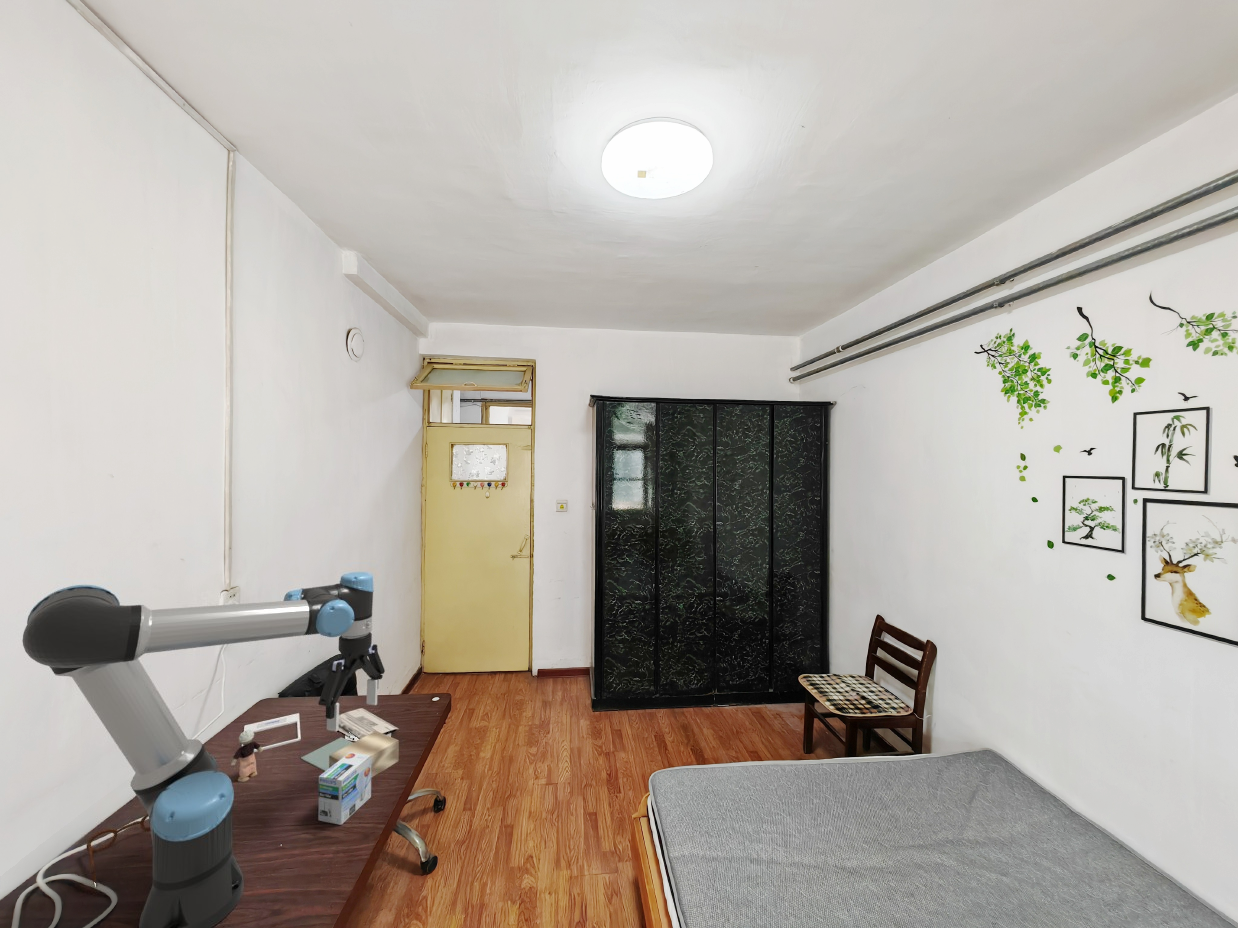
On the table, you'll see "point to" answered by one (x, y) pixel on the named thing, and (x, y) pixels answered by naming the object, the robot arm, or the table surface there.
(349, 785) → the light bulb box
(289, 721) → the photo frame
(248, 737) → the grandmother figurine
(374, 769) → the beech step
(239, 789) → the table surface
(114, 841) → the glasses
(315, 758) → the rubber mat
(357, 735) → the newspaper
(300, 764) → the table surface
